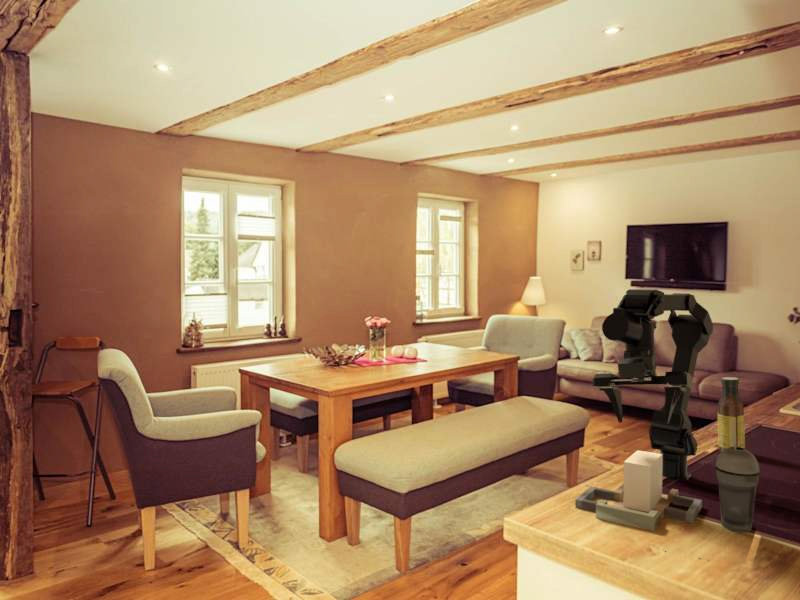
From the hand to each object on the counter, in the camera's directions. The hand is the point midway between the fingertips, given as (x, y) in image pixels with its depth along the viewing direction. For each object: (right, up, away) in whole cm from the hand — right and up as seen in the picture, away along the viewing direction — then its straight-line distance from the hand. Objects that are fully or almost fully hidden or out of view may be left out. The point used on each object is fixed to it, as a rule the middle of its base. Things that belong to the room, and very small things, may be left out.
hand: (643, 423), depth 124 cm
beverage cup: (+11, -17, -14) cm, 25 cm away
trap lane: (-2, -17, -4) cm, 17 cm away
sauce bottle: (+38, -15, +36) cm, 55 cm away
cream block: (-1, -16, -2) cm, 16 cm away
